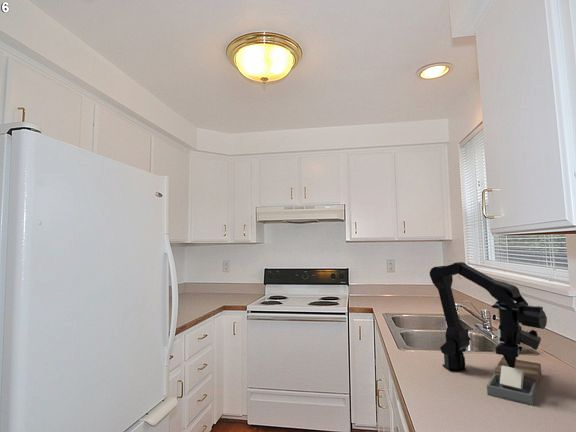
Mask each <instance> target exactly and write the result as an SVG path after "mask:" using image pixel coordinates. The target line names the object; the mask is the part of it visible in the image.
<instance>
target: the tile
mask: <svg viewBox="0 0 576 432" xmlns="http://www.w3.org/2000/svg"><path fill="white" fill-rule="evenodd" d="M523 378H524V372H523V370H520V369H516V368H511V367H507V366H502V367H501V375H500V384H501V386H505V387H509V388H513V389H517V390H521V391H522V390H523Z"/></svg>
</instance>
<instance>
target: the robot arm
mask: <svg viewBox="0 0 576 432" xmlns="http://www.w3.org/2000/svg"><path fill="white" fill-rule="evenodd" d="M455 275H460V276H461V277H464V278H465V279H467V280H469V281H471V282H472V283H473V284H475V285H477V286H479V287H480V288H483V289H484V290H485V291H487V292H488V294H489V295H490V296H491V297H493V298H494V299H495V300H496V301H495V302H494V304H492V305H491V308H492V309H498V317H499V318H498V319H499V320H498V323H500V325H499V329H500V338H499V341H501V342H504V343H501V342H500V343H499V344H498V343H497V345H496V346H495V354H497V355H499V356H502V357H504V358H505V360H506V362H507V364H508V365H509V367H511V368H515V362H516V359H517V358H519V356H520V354H521V352H522V350H523V346H519V345H522V344H523V345H525V346H527V347H529V348H531V349H532V350H535V351H537V350H538V349H539V346H540V344H541V341H542V338H541V336H539V335H538V331H537V330H535V329H539V330H540V329H541V330H544V329H545V328H546V327H547V323H548V318H547V317H548V316H547V314H546V312H545V311H544V309H543V308H544V307H543V306H539V305H536V306H534V305H529V303H528V302H527V301H526V299H525V298H524V297H523V295H521V292H520V289H519V287H517V286H516V285H513V284H510V283H508V282H505V281H501V280H497V279H494V278H493V277H490V276H489V275H488V274H487V275H486V274H485V273H483V272H481V271H479V270H477V269H475V268H473V267H471V266H470V265H468V264H466V263H465V262H463V261H459V262H458V261H456V262H454V263H452V264H448V265H439V266H434V267H432V268H430V270H429V276H430V279H431V282H432V284H433V285H434V287H435V288H436V289H437V291H438V295H439V299H440V303H441V306H442V311H443V316H444V319H445V324H446V331H445V334H444V335H445V343H443V344H442V345H441V346H440V348H439V349H440V351H441V353H442V354H443V359H444V360H443V362H444V363H443V364H442V367H444V368H445V369H446V370H447V371H449V372H452V373H454V372H456V373H457V372H467V371H468V369H467V368H466V357H465V355H464V352H466V351H467V348H468V347H469V346H470V345H471V342H470V341H471V340H472V339H471V338H470V334H469V329H467V328H463V326H462V324H461V321H460V317H459V314H458V310H457V305H456V302H455V298H454V294H453V291H452V285H453V276H455ZM521 325H522V326H525V327H530V328H535V329H531V330H530V331H528V330H526V331H525V330H522V326H521Z"/></svg>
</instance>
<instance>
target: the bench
mask: <svg viewBox="0 0 576 432" xmlns="http://www.w3.org/2000/svg"><path fill="white" fill-rule="evenodd" d="M502 366H507V367H509V365H508V364H507V362H506V360H505V358H504V356H502V357H501V358H500V360H499V362H498V364H497V365H496V367H495V368H494V370H493V372H494V373H495V374H499V375H501V367H502ZM515 368H516V369H520V370H523V372H524V378H523V379H524V380H529V381H534V382H536V392H537V391H538V388H539V384H540V381H541V379H542V378H541V377H542V365H541V363H538V362H534V361H528V360H523V359H517V358H516V362H515ZM494 373H493V374H494Z"/></svg>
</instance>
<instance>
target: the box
mask: <svg viewBox="0 0 576 432" xmlns="http://www.w3.org/2000/svg"><path fill="white" fill-rule="evenodd" d="M486 394H487V396H491V397H494V398H499V399H503V400H507V401H511V402H516V403H519V404H523V405H529V406H533V404H534V402H535V397H536V395H537V391H536V382H534V381H529V380H524V379H523V390H522V391H521V390H517V389H513V388H509V387H505V386H501V384H500V375H499V374H495V373H493V375H492V376H491V377H490V380H488V383H487V385H486Z"/></svg>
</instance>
